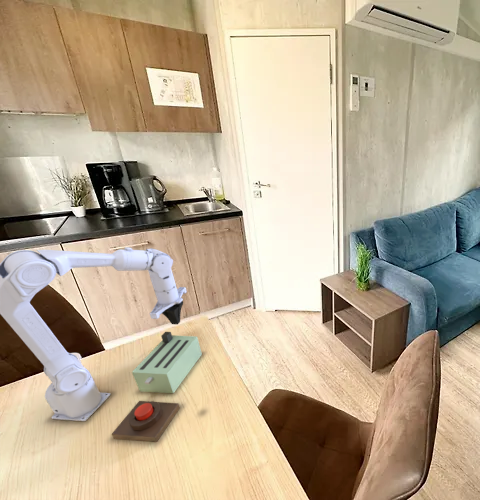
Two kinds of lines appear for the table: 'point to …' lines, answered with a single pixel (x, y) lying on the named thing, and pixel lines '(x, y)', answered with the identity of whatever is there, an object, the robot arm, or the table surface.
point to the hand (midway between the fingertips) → (176, 323)
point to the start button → (143, 411)
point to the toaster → (167, 365)
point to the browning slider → (167, 337)
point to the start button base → (147, 422)
